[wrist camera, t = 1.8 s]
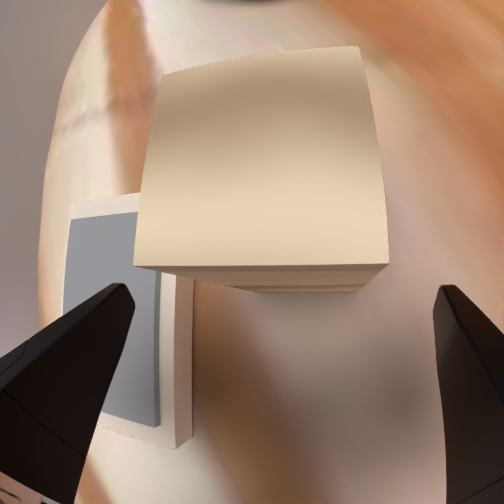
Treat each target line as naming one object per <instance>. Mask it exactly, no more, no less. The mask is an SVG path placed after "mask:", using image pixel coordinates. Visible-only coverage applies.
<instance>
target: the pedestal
mask: <svg viewBox="0 0 504 504" xmlns="http://www.w3.org/2000/svg"><path fill="white" fill-rule="evenodd" d="M139 200H140V193H134V194H127V195H120V196H113V197H107V198H101V199H94V200H88V201H82V202H77V203H71V206H70V212H69V219H68V226H67V233H66V241H65V250H64V260H63V272H62V286H61V306H60V317H61V316H63V315H64V314H66V313H67V312H69V311H70V310H72V309H73V308H75V307H76V306H78V305H79V304H81V303H82V302H84V301H85V300H87V299H88V298H90V297H91V296H93V295H94V294H96V293H98V292H99V291H101V290H102V289H104V288H105V287H107V286H108V285H110V284H112V283H115V282H117V283H124V284H126V286H127V287H128V289H129V291H130V293H131V295H132V297H133V299H134V301H135V306H136V307H135V312H134V315H133V318H132V322H131V325H130V329H129V332H128V336H127V339H126V343H125V346H124V349H123V352H122V355H121V358H120V360H119V363H118V365H117V368H116V371H115V373H114V376H113V379H112V382H111V384H110V387H109V390H108V393H107V396H106V398H105V401H104V404H103V407H102V410H101V413H100V416H99V419H98V422H97V425H99V426H101V427H104V428H107V429H110V430H112V431H115V432H118V433H121V434H124V435H127V436H130V437H133V438H137V439H140V440H143V441H146V442H150V443H153V444H157V445H160V446H164V447H168V448H172V449H177V448H178V447H180V446H181V445H182V444H184V443H185V442H186V441H188V440H189V439H190V438H192V324H193V292H194V279H191V278H186V277H181V276H177V275H172V274H167V273H163V272H158V271H154V270H149V269H145V268H141V267H136V266H133V260H134V248H135V237H136V227H137V217H138V208H139Z"/></svg>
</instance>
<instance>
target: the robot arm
mask: <svg viewBox="0 0 504 504" xmlns="http://www.w3.org/2000/svg"><path fill="white" fill-rule="evenodd" d="M135 307H136V306H135V301H134V299H133V297H132V295H131V293H130V291H129V289H128V287H127V286H126V284H124V283H117V282H115V283H112V284H110V285H108V286H107V287H105V288H104V289H102V290H101V291H99V292H98V293H96V294H94V295H93V296H91V297H90V298H88V299H87V300H85V301H84V302H82V303H81V304H79V305H78V306H76V307H75V308H73V309H72V310H70V311H69V312H67V313H66V314H64V315H63V316H61V317H60V318H58V319H57V320H55V321H54V322H52V323H51V324H50V325H48V326H47V327H45V328H44V329H42V330H41V331H39V332H38V333H37V334H35V335H34V336H32V337H31V338H30V339H29V340H26V341H25V342H24V343H22V344H21V345H19V346H18V347H16V348H15V349H13V350H12V351H11V352H9V353H8V354H6V355H4V356H3V357H1V358H0V504H47V503H46V502H44V501H43V500H42V499H43V497H44V496H45V497H48V498H50V499H52V500H54V501H56V502H58V503H60V504H74V501H75V497H76V493H77V489H78V485H79V482H80V478H81V475H82V471H83V468H84V464H85V461H86V457H87V453H88V450H89V447H90V444H91V440H92V437H93V434H94V431H95V428H96V425H97V422H98V419H99V416H100V413H101V410H102V407H103V404H104V401H105V398H106V396H107V393H108V390H109V387H110V384H111V382H112V379H113V376H114V373H115V371H116V368H117V365H118V363H119V360H120V358H121V355H122V352H123V349H124V346H125V343H126V339H127V336H128V332H129V329H130V325H131V322H132V318H133V315H134V312H135ZM433 322H434V333H435V346H436V362H437V372H438V380H439V387H440V394H441V402H442V411H443V422H444V433H445V449H446V479H447V493H446V504H504V334H503V333H502V332H501V331H500V330H499V329H498V328H497V327H496V326H495V325H494V323H493V322H492V321H491V320H490V319H489V318H488V317H487V316H486V315H485V314H484V313H483V312H482V311H481V310H480V309H479V308H478V307H477V306H476V305H475V304H474V303H473V302H472V301H471V300H470V299H469V298H468V297H467V296H466V295H465V294H464V293H463V292H462V291H461V290H460V289H459V288H458V287H457V286H455V285H441V286H440V287H439V290H438V293H437V297H436V301H435V304H434V308H433Z"/></svg>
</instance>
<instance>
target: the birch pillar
mask: <svg viewBox="0 0 504 504" xmlns="http://www.w3.org/2000/svg"><path fill="white" fill-rule="evenodd" d="M388 264H389V249H388V231H387V217H386V205H385V194H384V184H383V176H382V167H381V160H380V152H379V145H378V139H377V133H376V126H375V121H374V115H373V109H372V104H371V99H370V94H369V89H368V84H367V80H366V75H365V71H364V67H363V62H362V58H361V54H360V50H359V46H355V47H328V48H313V49H301V50H291V51H282V52H274V53H267V54H260V55H253V56H247V57H241V58H235V59H230V60H225V61H220V62H215V63H210V64H206V65H201V66H197V67H193V68H189V69H185V70H181V71H177V72H173V73H169V74H166V75H162V78H161V82H160V86H159V91H158V95H157V100H156V104H155V109H154V114H153V119H152V124H151V130H150V135H149V141H148V146H147V152H146V158H145V165H144V171H143V178H142V185H141V192H140V200H139V208H138V217H137V227H136V237H135V248H134V260H133V266H136V267H141V268H145V269H149V270H154V271H158V272H163V273H167V274H172V275H177V276H181V277H186V278H191V279H195V280H200V281H205V282H210V283H215V284H219V285H224V286H229V287H234V288H239V289H244V290H250V291H255V292H345V291H358V290H359V289H360V288H361V287H363V286H364V285H365V284H366V283H367V282H368V281H370V280H371V279H372V278H373V277H374V276H375V275H376V274H378V273H379V272H380V271H381V270H382V269H383V268H384V267H386V266H387V265H388Z"/></svg>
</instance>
